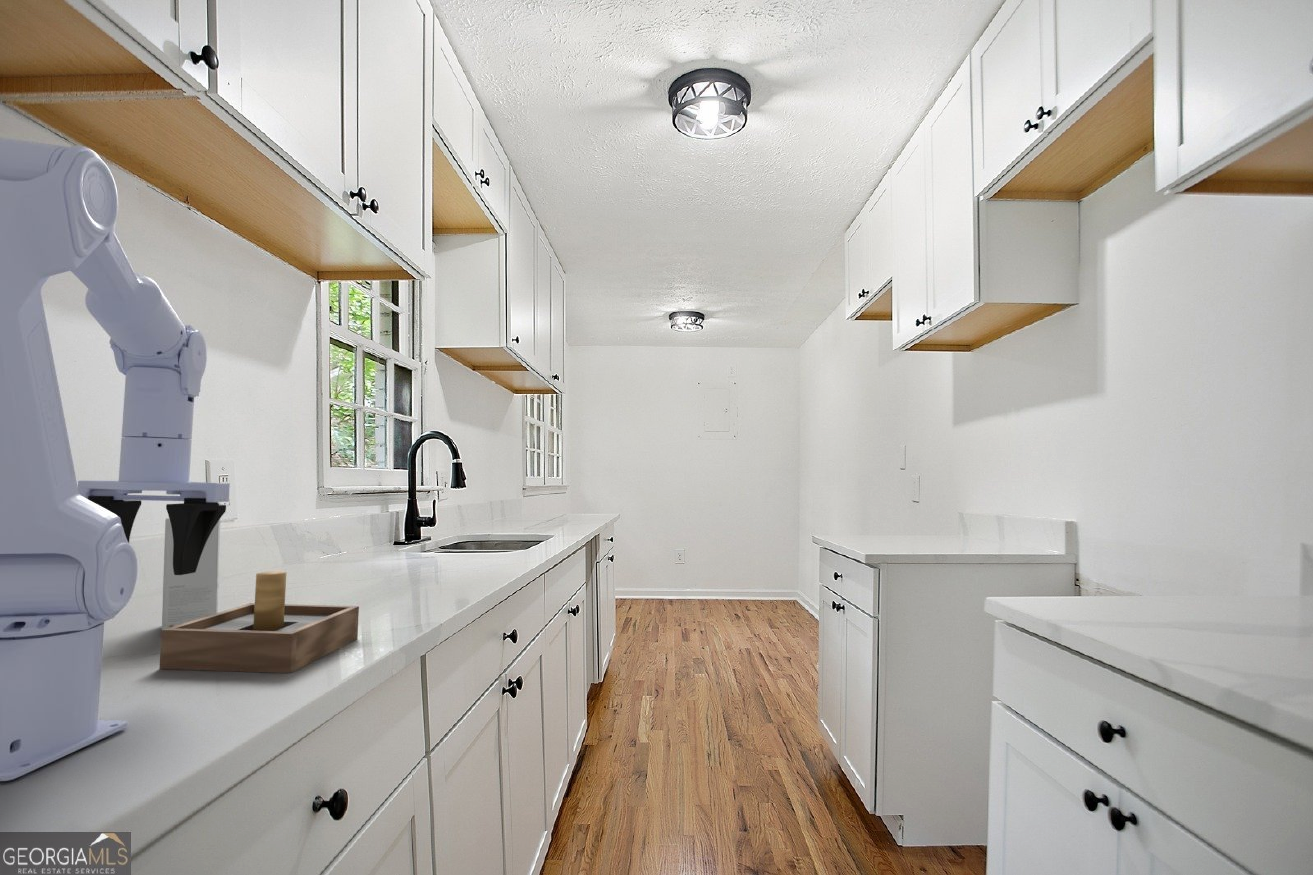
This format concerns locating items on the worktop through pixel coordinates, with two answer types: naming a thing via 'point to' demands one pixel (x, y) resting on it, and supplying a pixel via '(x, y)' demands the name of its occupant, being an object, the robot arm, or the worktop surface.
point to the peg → (269, 601)
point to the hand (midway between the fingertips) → (148, 572)
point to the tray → (258, 639)
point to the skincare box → (190, 583)
